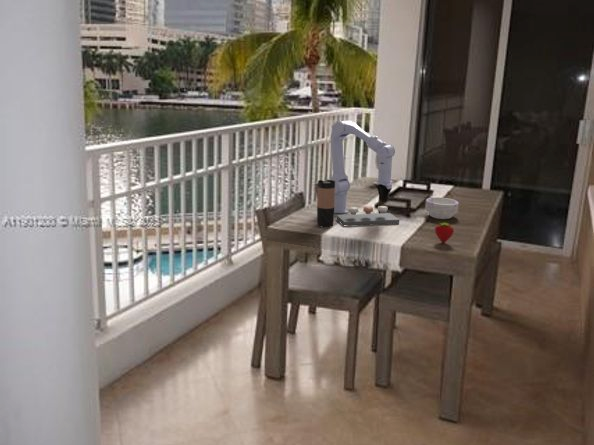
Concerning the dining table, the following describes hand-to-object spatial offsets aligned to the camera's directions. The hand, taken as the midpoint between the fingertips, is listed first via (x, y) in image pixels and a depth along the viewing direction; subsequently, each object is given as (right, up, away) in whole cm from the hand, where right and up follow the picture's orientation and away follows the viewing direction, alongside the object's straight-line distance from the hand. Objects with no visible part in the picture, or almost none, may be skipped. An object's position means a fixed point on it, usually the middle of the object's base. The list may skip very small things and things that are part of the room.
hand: (383, 201), depth 267 cm
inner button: (-14, -6, -2) cm, 15 cm away
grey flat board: (-7, -9, +1) cm, 12 cm away
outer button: (0, -5, +1) cm, 6 cm away
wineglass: (+11, +13, +83) cm, 85 cm away
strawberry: (+20, -18, -28) cm, 39 cm away
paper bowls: (+29, -7, +12) cm, 33 cm away
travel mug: (-27, -11, -6) cm, 30 cm away
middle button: (-7, -6, 0) cm, 9 cm away
